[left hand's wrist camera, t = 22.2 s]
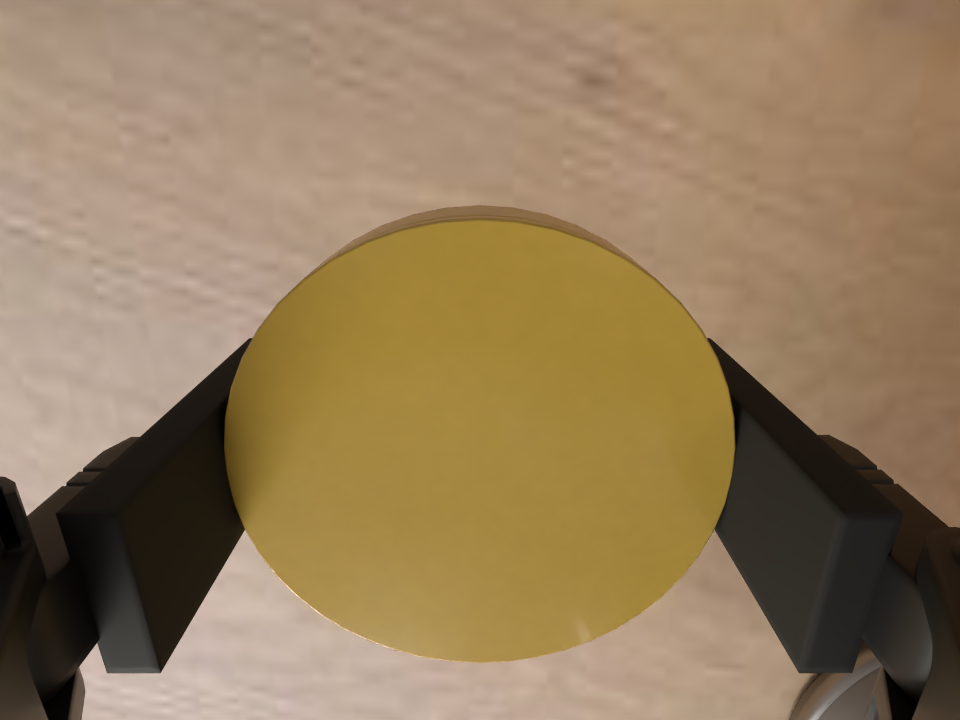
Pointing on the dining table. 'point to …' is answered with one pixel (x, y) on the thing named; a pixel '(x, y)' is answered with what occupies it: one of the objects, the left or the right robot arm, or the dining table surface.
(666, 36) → the dining table surface
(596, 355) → the lid
